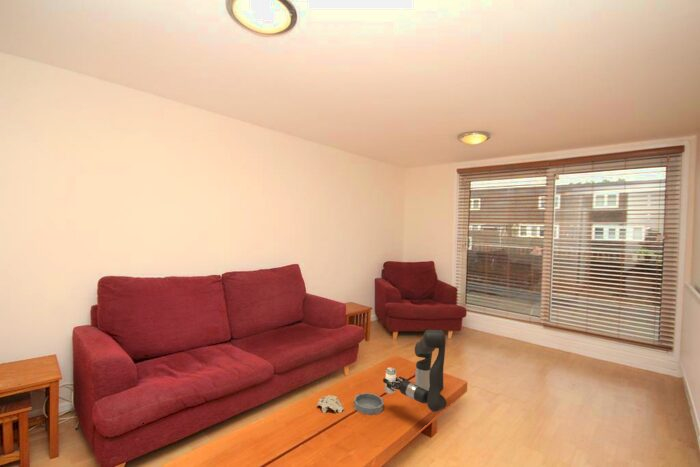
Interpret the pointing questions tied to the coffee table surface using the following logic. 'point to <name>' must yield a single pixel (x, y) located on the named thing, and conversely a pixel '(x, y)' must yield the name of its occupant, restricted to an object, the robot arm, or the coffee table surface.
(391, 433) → the coffee table surface
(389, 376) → the pebble cup
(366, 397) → the bowl
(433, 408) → the robot arm
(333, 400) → the coral
